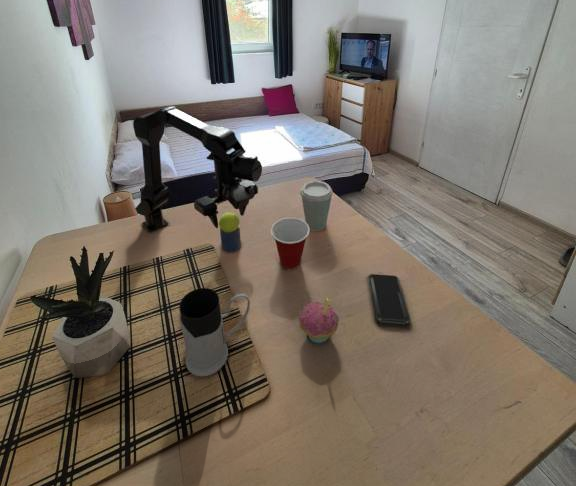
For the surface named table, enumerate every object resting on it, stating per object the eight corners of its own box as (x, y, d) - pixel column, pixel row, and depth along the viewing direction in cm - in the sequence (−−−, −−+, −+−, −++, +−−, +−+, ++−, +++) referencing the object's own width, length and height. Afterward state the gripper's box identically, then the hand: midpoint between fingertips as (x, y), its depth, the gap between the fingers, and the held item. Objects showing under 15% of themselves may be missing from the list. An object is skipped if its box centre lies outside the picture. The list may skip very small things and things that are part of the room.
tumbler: (218, 246, 101) (216, 227, 98) (233, 238, 105) (232, 219, 102) (229, 255, 97) (227, 235, 95) (244, 246, 101) (243, 227, 98)
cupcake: (340, 324, 75) (343, 284, 71) (332, 357, 68) (336, 315, 63) (304, 314, 78) (305, 275, 73) (293, 344, 71) (294, 304, 66)
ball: (216, 230, 99) (214, 214, 96) (232, 222, 103) (231, 206, 100) (227, 239, 95) (226, 222, 93) (243, 231, 99) (242, 214, 96)
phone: (376, 320, 75) (368, 273, 89) (376, 323, 75) (368, 276, 89) (411, 323, 74) (398, 275, 88) (410, 326, 75) (397, 279, 88)
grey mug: (183, 345, 70) (173, 293, 64) (246, 323, 76) (242, 273, 70) (188, 383, 63) (178, 328, 57) (257, 356, 68) (255, 303, 62)
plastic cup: (265, 269, 92) (264, 234, 87) (280, 246, 101) (280, 214, 96) (301, 280, 88) (302, 244, 83) (313, 255, 97) (314, 222, 92)
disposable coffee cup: (332, 235, 106) (335, 195, 100) (299, 235, 106) (300, 195, 100) (329, 217, 116) (331, 179, 110) (299, 217, 116) (299, 179, 110)
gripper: (212, 196, 80) (218, 247, 86) (269, 173, 92) (270, 219, 98) (189, 181, 87) (196, 229, 93) (245, 162, 99) (247, 205, 105)
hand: (229, 221), depth 97 cm, fingers open, 9 cm apart
